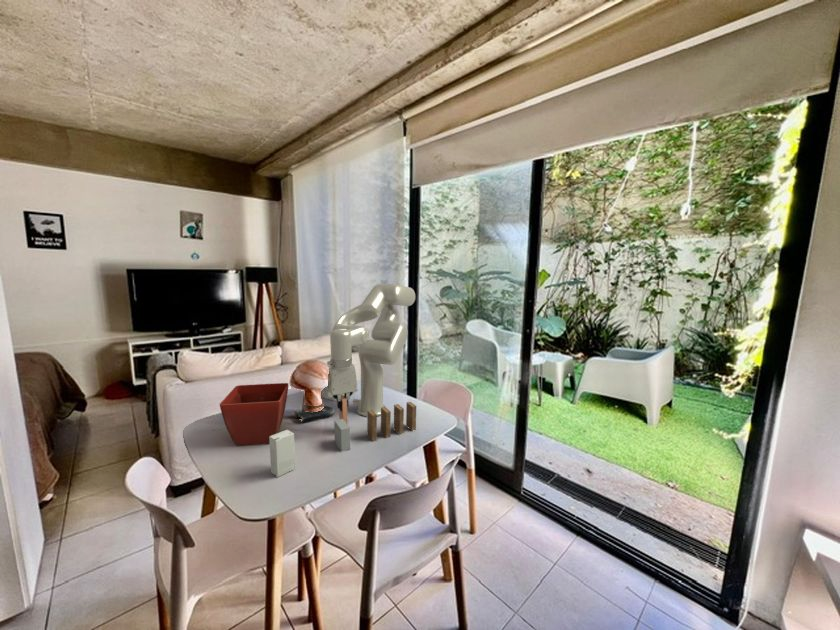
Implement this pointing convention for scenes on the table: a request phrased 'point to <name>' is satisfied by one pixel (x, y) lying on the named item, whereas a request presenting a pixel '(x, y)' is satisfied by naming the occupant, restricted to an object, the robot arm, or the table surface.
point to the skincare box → (282, 452)
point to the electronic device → (315, 414)
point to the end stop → (342, 434)
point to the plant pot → (254, 412)
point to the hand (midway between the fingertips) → (342, 408)
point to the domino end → (343, 410)
